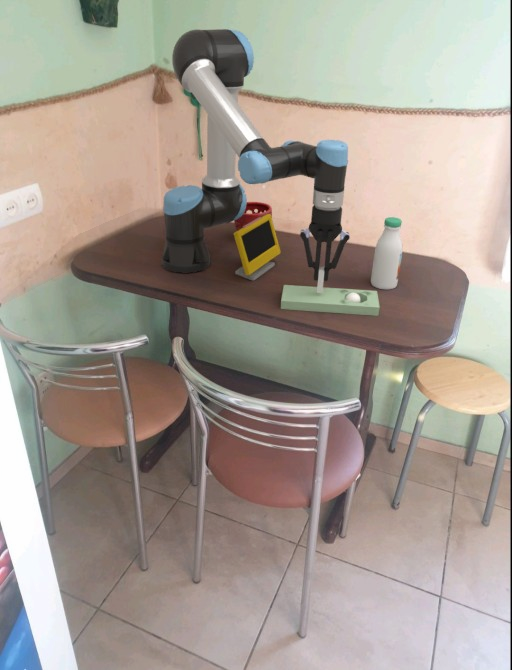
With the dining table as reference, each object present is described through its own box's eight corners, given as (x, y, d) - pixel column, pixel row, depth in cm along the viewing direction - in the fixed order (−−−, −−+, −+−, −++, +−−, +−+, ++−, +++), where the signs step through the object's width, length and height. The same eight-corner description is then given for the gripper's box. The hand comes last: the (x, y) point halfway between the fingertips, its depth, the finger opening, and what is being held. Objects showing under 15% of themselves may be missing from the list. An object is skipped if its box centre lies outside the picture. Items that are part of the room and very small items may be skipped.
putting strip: (280, 308, 146) (281, 300, 145) (283, 292, 155) (283, 284, 153) (378, 315, 144) (379, 307, 142) (375, 299, 152) (376, 290, 151)
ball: (344, 308, 146) (348, 296, 144) (343, 300, 150) (347, 288, 147) (358, 311, 147) (363, 299, 144) (357, 303, 150) (361, 291, 148)
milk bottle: (391, 292, 156) (402, 225, 146) (366, 286, 159) (375, 220, 149) (400, 283, 162) (411, 218, 151) (376, 277, 165) (385, 213, 155)
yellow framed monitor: (249, 285, 158) (250, 234, 150) (226, 279, 162) (226, 229, 154) (280, 262, 173) (282, 214, 165) (259, 257, 177) (260, 210, 169)
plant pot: (236, 232, 196) (236, 200, 190) (272, 235, 195) (274, 202, 189) (230, 245, 185) (230, 211, 179) (268, 248, 184) (269, 214, 178)
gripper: (300, 209, 133) (295, 295, 145) (354, 212, 132) (344, 298, 144) (302, 200, 139) (296, 283, 152) (353, 203, 138) (343, 286, 150)
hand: (319, 290), depth 148 cm, fingers closed
